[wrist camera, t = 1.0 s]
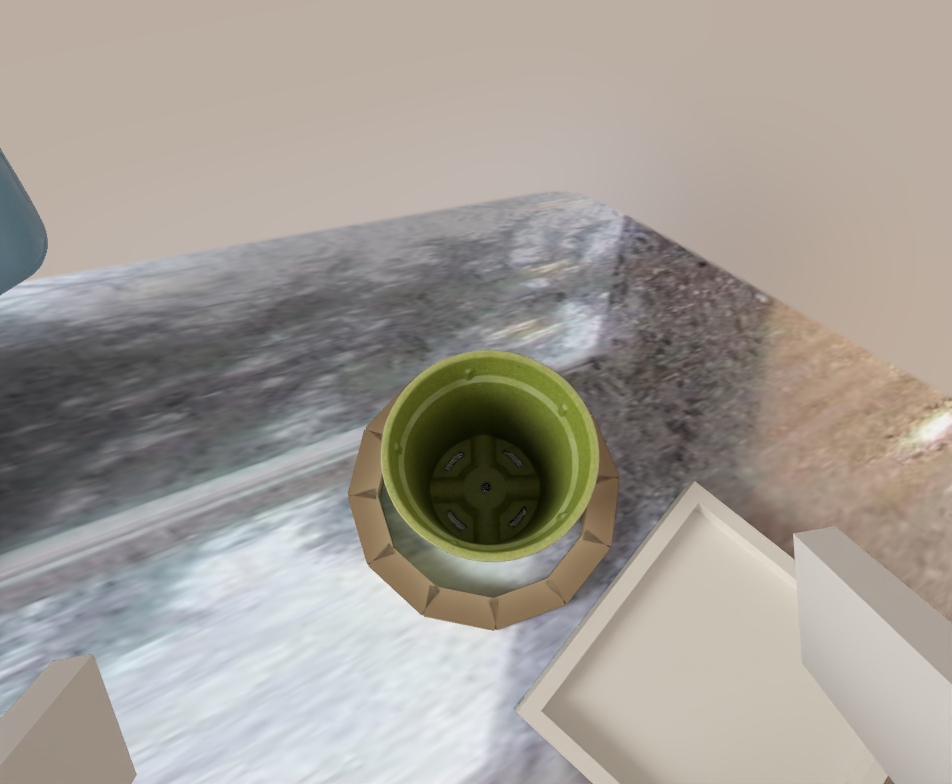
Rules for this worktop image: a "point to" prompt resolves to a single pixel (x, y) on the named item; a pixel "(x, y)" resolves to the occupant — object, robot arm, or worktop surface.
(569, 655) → the grey tray
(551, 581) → the oak ring
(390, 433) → the plant pot
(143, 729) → the worktop surface
